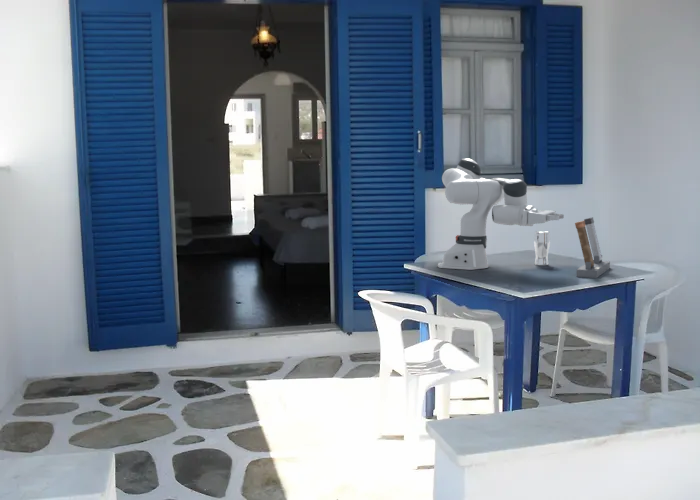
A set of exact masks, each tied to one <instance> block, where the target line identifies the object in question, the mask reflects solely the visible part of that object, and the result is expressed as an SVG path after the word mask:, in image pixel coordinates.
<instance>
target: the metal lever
mask: <svg viewBox="0 0 700 500" xmlns="http://www.w3.org/2000/svg"><path fill="white" fill-rule="evenodd" d="M583 221H585V225H586V226H585V228H586V232H587V236H588V240H589V245H590V249H591V253H592V257H593V258H594V256H597V257H599V262H600V261H601V260H602V261H603V255H602V253H601V249H600V248H601V247H600V245H599V244H600V243H599V240H598V236H597V230H596V227H595V221H594V217H589V218H584V219H583ZM601 255H602V256H601Z"/></svg>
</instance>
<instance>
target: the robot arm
mask: <svg viewBox="0 0 700 500" xmlns="http://www.w3.org/2000/svg"><path fill="white" fill-rule="evenodd" d="M482 174H483V172H482V171H481V166H480V165H479V163H478V162H476V161H475V160H473V159H471V158H461V159H460V161H459V162H458V163H457V166H456V168H454V167H452V168H448V169H446V170H445V171H444V172H443V173H442V176H441V180H442V183H443V185H444V187H445V190H444V191H445V192H444V195H445V198H446V200H447V201H448V202H449V203H450V204H455V205H460V206H461V205H472V208H471V209H470V210H469V211H468V212H466V213H465V214H463V216H462V217H461V218H460V234H456V235H455V244H453V245H452V246H451V247H449V248H448V249H447V250H446V251H445V252H444V253H443V257H442V261H441V262H438V263H437V267H438V268H440V269H451V270H452V269H453V270H455V269H456V270H470V271H471V270H480V269H487V268H489V263H488V262H489V261H488V257H487V247H488V245H487V244H488V239H487V237H488V236H487V235H486V234H487V233H486V231H487V220H488V216H489V212H490V211H491V219H492V222H493V223H494V224H498V225H503V226H515V225H518V226H520V227H521V226H522V227H533V226H534V225H535V224H536V225H537V224H544V223H547V222H550V221H559V220H560V219H561V220H562V219H564V218H565V215H564V214H563V213H558V212H556V211H555V210H550V209H549V210H548V209H547V210H546V209H544V210H543V209H542V210H539V209H538V208H535V206H534V205H528V197H527V193H528V185H527V183H526V182H525V181H524V180H522V179H519V178H514V179H513V178H507V177H493V178H491V179H490V178H484V177H482V176H481V175H482ZM503 199H504V204H500V203H501V202H503Z"/></svg>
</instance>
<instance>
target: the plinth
mask: <svg viewBox="0 0 700 500" xmlns="http://www.w3.org/2000/svg"><path fill="white" fill-rule="evenodd" d="M601 256H602V257H603V255H602V254H601ZM593 261H594V265H593V266H592V267H591V262H586V265H585V263H584V264H583V265H581V266H579V268H577V269H576V277H577V278H590V279H591V278H592V279H597V278H599V277H601V276H602V275H603V274H604V273H606V272H607V271H608V270H609V269H610V268H611V261H609V260H608V261H607V260H603V259H602V260H601V261H600V262H599V257H597V256H594V257H593Z"/></svg>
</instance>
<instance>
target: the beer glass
mask: <svg viewBox="0 0 700 500" xmlns="http://www.w3.org/2000/svg"><path fill="white" fill-rule="evenodd" d="M533 239H534V240H533V245H534V252H535V259H534V260H535V261H534V265H535V266H549V260H548V259H549V257H548V256H549V251H550V247H551V246H550V245H551V233H550V231H547V230H546V231H545V230H538V231H537V230H535V231H534V237H533Z"/></svg>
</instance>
